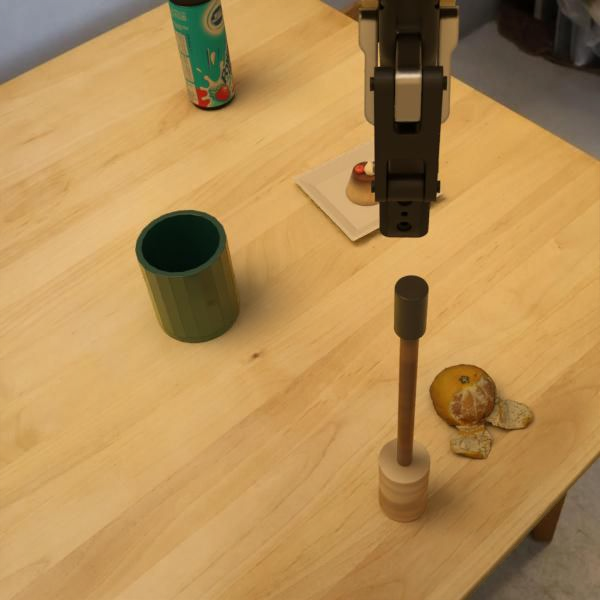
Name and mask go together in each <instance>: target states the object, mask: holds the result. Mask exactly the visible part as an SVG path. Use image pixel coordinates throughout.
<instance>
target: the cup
mask: <svg viewBox="0 0 600 600" xmlns="http://www.w3.org/2000/svg"><path fill="white" fill-rule="evenodd" d="M134 251H135V252H134V253H135V256H136V260H137V263H138V266H139V270H140V271H141V275H142V278H143V281H144V283H145V286H146V289H147V292H148V295H149V299H150V301H151V304H152V307H153V310H154V313H155V316H156V319H157V322H158V324H159V326H160V328H161V329H162V331H163V332H164V333H165V334H166V335H168V336H169V337H170V338H172V339H174V340H176V341H180V342H183V343H190V344H192V343H193V344H196V343H204V342H208V341H211V340H214V339H216V338H218V337H220V336H221V335H224V334H225V333H226V332H228V330H229V329H230V328H231V327H232V326H233V325H234V324H235V322H236V321H237V319H238V316H239V313H240V310H241V302H240V295H239V289H238V284H237V280H236V274H235V270H234V266H233V260H232V255H231V250H230V246H229V241H228V237H227V233H226V230H225V228H224V225H223V224H222V223H221V222H220V221H219V219H217V217H215V216H213V215H211V214H209V213H207V212H206V211H205V212H204V211H201V210H195V209H179V210H174V211H171V212H167V213H163V214H161V215H160V216H158V217H157V218H153V219H152V220H151V221H150V222H149V223H148V224H147V225H145V226H144V227H143V229H142V230H141V231H140V233H139V235H138V237H137V238H136V242H135V247H134Z"/></svg>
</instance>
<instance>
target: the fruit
mask: <svg viewBox="0 0 600 600" xmlns="http://www.w3.org/2000/svg"><path fill="white" fill-rule="evenodd" d="M428 392H429V395H430V400H431V401H432V405H433V409H434V411H435V412H436V414H437V416H439V417H441V418H442V419H443V420H444V421H445V423H446V425H450V426H454V427H456V429H457V430H458V433H457V434H456V436H454V437H453V438H451V439H450V440H449V447H450V450H451V451H452V452H453V453H455V454H457V455H463V456H466V457H468V458H470V459H479V460H483V459H485V460H486V458H487V457H489V452H490V451H491V445H490V444H491V441H492V436H491V435H490V434H489V432H488V430H487V429H486V428H485V427H486V425H485V424H486V423H487V422H488V423H489V422H490V423H492V426H495V427H500V428H502V429H506V430H518V429H522V428H525V427H527V425H528V424H529V423H530V422H531V421H532V419H533V417H532V416H533V413H532V408H530V406H528V405H526V404H525V403H522V402H518V401H515V400H511V399H502V398H500V397H497V385H496V382H495V381H494V380H493V379H492V377H491V376H490V375H489V373H488V372H486V371H485V370H484V369H483V368H481V367H479V366H477V365H475V364H467V363H459V364H455V365H451V366H447V367H444V369H442V370H441V371H440V372H438V373H437V374H436V375H435V376H434V379H433V381H431V384H430V385H429V389H428Z"/></svg>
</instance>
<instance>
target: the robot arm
mask: <svg viewBox="0 0 600 600" xmlns="http://www.w3.org/2000/svg"><path fill="white" fill-rule="evenodd" d="M456 1H457V0H360V2H361V7H359V8H358V36H357V37H358V46H359V49H360V51H361V52H362V53H363V56H364V90H363V92H364V94H363V95H364V97H363V99H364V100H363V101H364V104H363V105H364V107H363V115H364V118H365V120H366V122H367V123H368V124H370V125H371V126H373V138H374V161H373V173H375V181H374V180H371V193H375V202H379V228H378V229H379V233H380V234H381V236H383V237H385V238H391V239H393V238H396V239H418V238H419V239H421V238H423V237H425V236H427V234H428V233H429V228H430V213H431V203H437V193H440V190H441V180H438V179H439V172H440V147H441V134H442V133H441V131H442V125H443V124H444V123H446V121H448V119H449V117H450V113H451V84H452V83H451V81H452V80H451V79H452V55H453V52H454V50H456V48H457V47H458V44H459V39H460V38H459V33H460V5H456Z"/></svg>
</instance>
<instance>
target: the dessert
mask: <svg viewBox="0 0 600 600" xmlns="http://www.w3.org/2000/svg"><path fill="white" fill-rule="evenodd" d="M373 161H374V137H372V138H370V139H368V140H366V141H364V142H362V143H359V144H358V145H356V146H353V147H352V148H350V149H347V150H346V151H344V152H342V153H340V154H338V155H336V156H334V157H331V158H330V159H328V160H326V161H324V162H321V163H319V164H317V165H315V166H314V167H312V168H309V169H307V170H305V171H304V172H301V173H299V174H296V175H295V176H293V177H292V180H293V181H294V182H295V184H297V186H299V187H300V188H301V190H303V191H304V192H305V193H306V194H307V195H308V197H309V198H310V199H311V200H312V201H313V202H314V203H315V204H316V205H317V206H318V207H319V208H320V209H321V210H322V211H323V212H324V213H325V214H326V215H327V217H329V219H330V220H331V221H333V223H334V224H336V226H337V227H338V228H339V229H340V230H341V231H342V232H343V233H344V234H345V235H346V236H347V237H348V238H349V239H350V240H351V241H352V242H355V241H357V240H358V239H359V240H360V238H362V237H365V236H366V235H368V234H370V233H372V232H374V231H376V230H377V229H379V202H375V193H371V180H374V181H375V173H373ZM443 194H444V191H442V190H441V189H440V193H437V197H440V196H441V195H443Z"/></svg>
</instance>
